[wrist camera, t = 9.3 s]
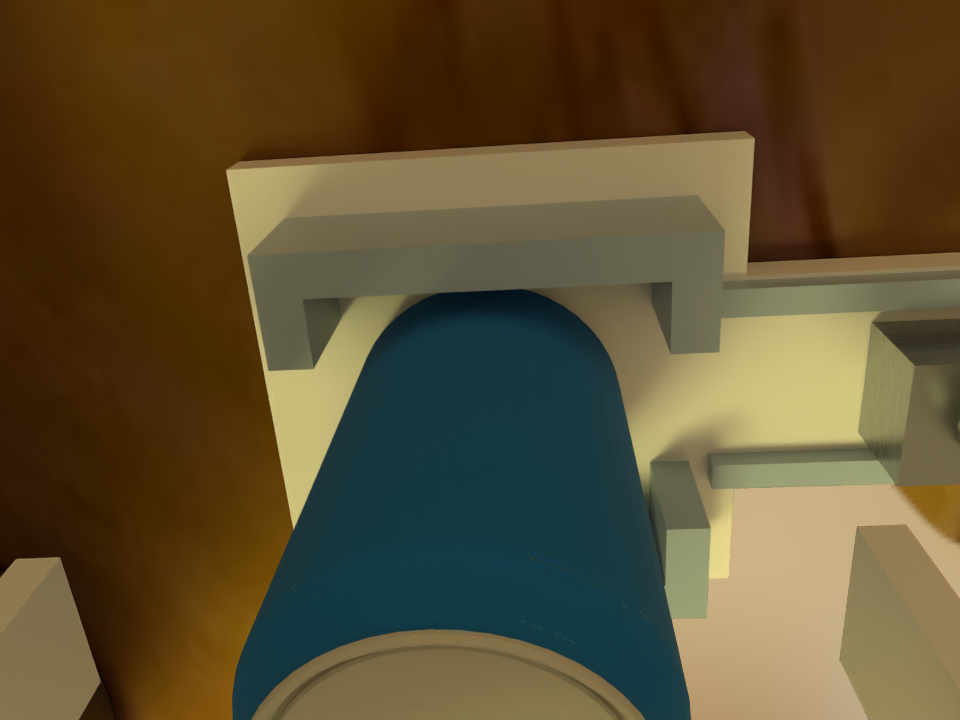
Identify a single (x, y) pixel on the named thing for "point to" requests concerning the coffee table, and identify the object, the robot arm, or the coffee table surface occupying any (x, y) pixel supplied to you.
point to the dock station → (587, 308)
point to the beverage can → (472, 537)
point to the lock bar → (914, 400)
